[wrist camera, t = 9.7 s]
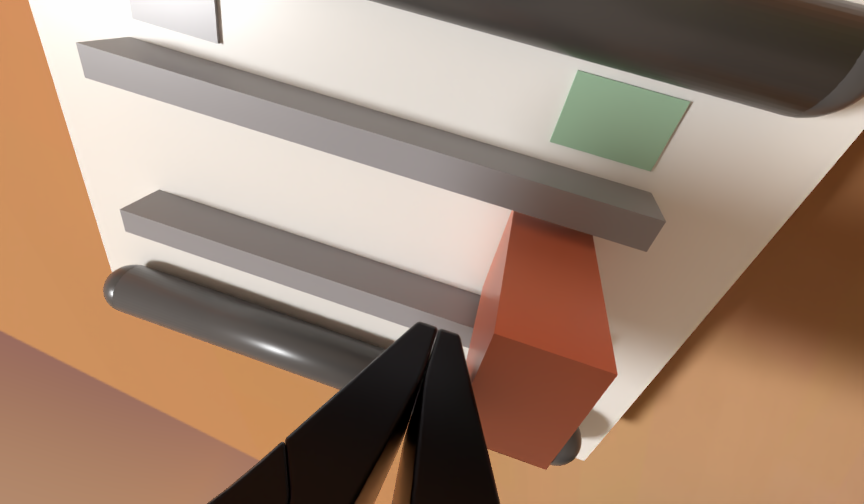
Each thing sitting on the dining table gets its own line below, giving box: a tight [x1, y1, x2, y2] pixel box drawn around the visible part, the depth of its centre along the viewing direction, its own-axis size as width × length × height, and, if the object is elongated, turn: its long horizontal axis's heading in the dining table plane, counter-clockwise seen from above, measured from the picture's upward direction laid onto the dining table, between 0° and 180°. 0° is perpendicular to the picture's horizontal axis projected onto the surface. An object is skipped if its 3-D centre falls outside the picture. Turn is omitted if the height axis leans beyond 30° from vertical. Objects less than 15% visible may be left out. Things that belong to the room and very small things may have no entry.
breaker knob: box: [466, 210, 618, 469], centre depth 9 cm, size 2×3×5 cm, turn 168°
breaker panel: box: [29, 0, 864, 466], centre depth 12 cm, size 20×16×4 cm
